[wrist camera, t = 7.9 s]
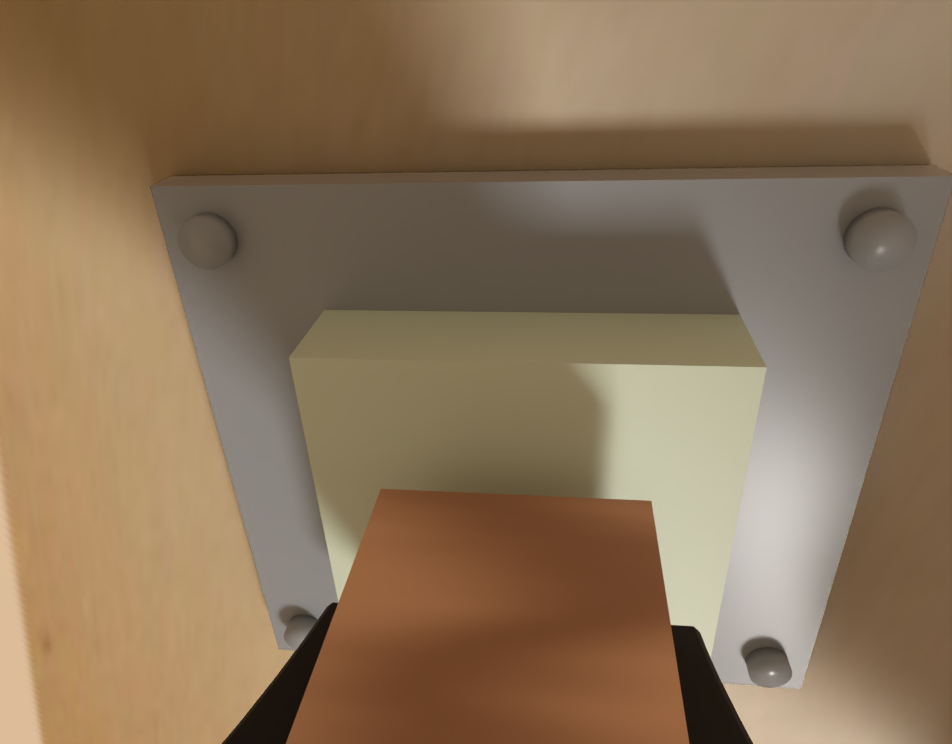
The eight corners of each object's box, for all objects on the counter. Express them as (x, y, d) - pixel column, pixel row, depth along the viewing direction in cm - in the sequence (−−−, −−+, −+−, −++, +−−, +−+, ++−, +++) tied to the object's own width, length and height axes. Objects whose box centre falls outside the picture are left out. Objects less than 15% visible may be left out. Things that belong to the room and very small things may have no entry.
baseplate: (933, 164, 12) (968, 181, 11) (792, 662, 18) (805, 703, 17) (171, 175, 13) (138, 192, 12) (288, 625, 20) (273, 661, 19)
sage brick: (739, 314, 13) (766, 367, 11) (691, 613, 17) (705, 687, 15) (324, 310, 14) (288, 357, 12) (371, 593, 18) (350, 659, 16)
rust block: (651, 500, 11) (702, 833, 7) (632, 679, 13) (661, 1016, 9) (380, 488, 12) (268, 789, 7) (405, 662, 14) (331, 970, 10)
